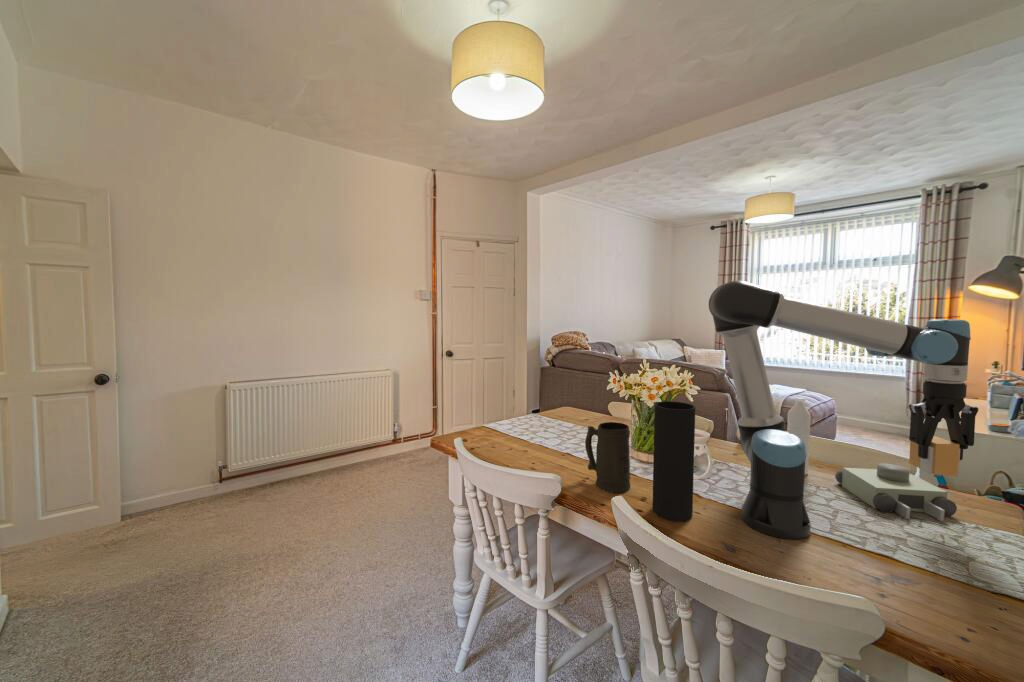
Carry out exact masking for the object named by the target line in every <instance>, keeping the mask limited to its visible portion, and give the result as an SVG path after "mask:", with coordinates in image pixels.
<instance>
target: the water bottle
mask: <svg viewBox="0 0 1024 682" xmlns="http://www.w3.org/2000/svg"><path fill="white" fill-rule="evenodd" d="M805 402H806V398H805V397H801V396H799V397H796V400H795V402H794V403H795V404H794V405H793V406H792V407H791V408H790V409H789V410H788V412H787V423H786V424H787V426H786V432H788V433H790V434H794V435H796V436H798V437H799V438H800V439H801V440H802V441H803V442H804V444H805V451H806V460H805V475H808V474H809V464H810V463H809V461H810V460H809V459H810V454H809V453H810V442H811V438H810V436H811V435H810V434H811V419H812V416H811V413H810V411H809V410H808V408H807V407H806V405H805ZM805 475H804V476H805Z"/></svg>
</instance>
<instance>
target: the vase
mask: <svg viewBox="0 0 1024 682" xmlns="http://www.w3.org/2000/svg"><path fill="white" fill-rule="evenodd" d="M653 411H654V417H653V419H654V420H653V421H654V422H653V458H652V459H653V462H652V463H653V464H652V465H653V467H652V468H653V469H652V506H651V507H652V508H651V509H652V512H653V513H654V514H655V515H656V516H658V517H660V519H662V520H667V521H670V522H674V523H675V522H677V523H682V522H687V520H688V521H689V520H690V519H691V520H692V518H693V511H694V509H693V508H694V507H693V505H694V472H695V471H694V470H695V469H694V468H695V467H694V466H695V433H696V406H695V405H694V404H691V403H686V402H682V401H673V400H669V401H668V400H667V401H665V400H664V401H657V402H655V403H654V410H653Z"/></svg>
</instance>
